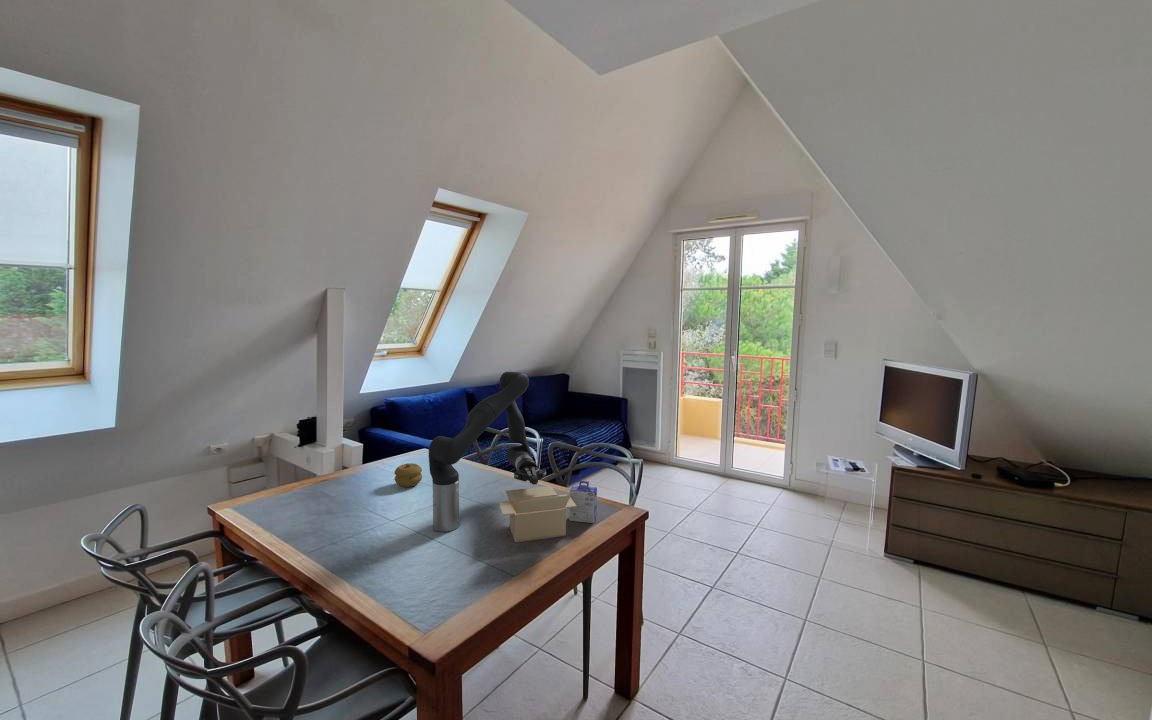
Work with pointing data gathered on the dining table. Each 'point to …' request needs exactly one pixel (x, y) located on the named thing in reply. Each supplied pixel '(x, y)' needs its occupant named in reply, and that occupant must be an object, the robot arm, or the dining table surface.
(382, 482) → the dining table surface
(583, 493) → the ink cartridge box
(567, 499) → the far flap
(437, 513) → the robot arm
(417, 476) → the stacked bagel
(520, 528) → the carton
